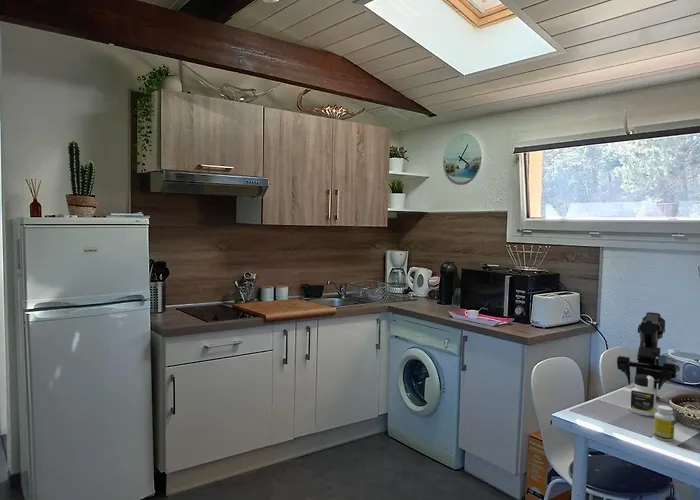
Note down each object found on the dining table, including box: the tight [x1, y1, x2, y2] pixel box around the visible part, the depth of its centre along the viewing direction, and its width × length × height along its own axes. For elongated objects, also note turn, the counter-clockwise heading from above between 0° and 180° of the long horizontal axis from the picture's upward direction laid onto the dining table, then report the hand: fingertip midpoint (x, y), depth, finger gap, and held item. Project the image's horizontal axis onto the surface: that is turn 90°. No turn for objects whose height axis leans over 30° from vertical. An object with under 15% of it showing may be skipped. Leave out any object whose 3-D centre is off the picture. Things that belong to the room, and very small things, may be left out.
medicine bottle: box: [630, 374, 657, 413], centre depth 182 cm, size 7×7×12 cm
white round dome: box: [628, 403, 658, 417], centre depth 183 cm, size 9×9×1 cm
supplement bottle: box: [653, 405, 676, 442], centre depth 159 cm, size 5×5×10 cm
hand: (643, 386), depth 181 cm, fingers open, 9 cm apart
